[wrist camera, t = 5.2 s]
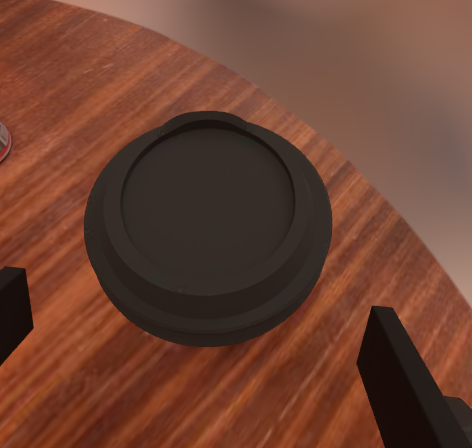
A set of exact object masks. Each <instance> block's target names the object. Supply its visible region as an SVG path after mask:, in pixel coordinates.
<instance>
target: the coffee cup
mask: <svg viewBox="0 0 472 448" xmlns="http://www.w3.org/2000/svg"><path fill="white" fill-rule="evenodd" d="M331 236H332V211H331V205H330V200H329V197H328V193H327V190H326V188H325V185H324V183H323V181H322V179H321V177H320V175H319V174H318V172H317V171H316V169H315V168H314V166H313V165H312V164H311V162H310V161H309V160H308V159H307V158H306V156H305V155H304V154H303V153H302V152H301V151H300V150H298V149H297V148H296V147H295V146H294V145H293V144H291V143H290V142H289V141H287V140H286V139H284V138H283V137H281V136H279V135H278V134H276V133H274V132H272V131H270V130H268V129H266V128H263V127H261V126H258V125H255V124H252V123H249V122H246V121H245V120H243V119H241V118H240V117H238V116H235V115H233V114H230V113H226V112H218V111H197V112H189V113H184V114H181V115H179V116H176V117H174V118H172V119H171V120H169V121H168V122H166V123H165V124H164V125H162V126H160V127H158V128H155V129H153V130H151V131H149V132H147V133H145V134H143V135H141V136H140V137H138V138H136V139H135V140H133V141H132V142H130V143H129V144H128V145H126V146H125V147H124V148H123V149H121V150H120V151H119V152H118V153H117V154H116V155H115V156H114V157H113V158H112V159H111V160H110V161H109V163H108V164H107V165H106V166H105V168H104V169H103V170H102V172H101V173H100V175H99V177H98V178H97V180H96V182H95V184H94V186H93V188H92V190H91V193H90V196H89V199H88V202H87V206H86V211H85V217H84V238H85V245H86V250H87V253H88V257H89V260H90V262H91V265H92V267H93V269H94V271H95V273H96V275H97V278H98V280H99V282H100V284H101V286H102V288H103V290H104V292H105V293H106V295H107V296H108V298H109V299H110V301H111V302H112V303H113V304H114V306H115V307H116V308H117V309H118V310H119V311H120V312H121V313H122V314H123V315H124V316H125V317H126V318H127V319H129V320H130V321H131V322H132V323H134V324H135V325H136V326H138V327H139V328H141V329H143V330H144V331H146V332H148V333H150V334H152V335H154V336H156V337H159V338H161V339H164V340H167V341H170V342H173V343H177V344H182V345H187V346H196V347H217V346H226V345H232V344H236V343H240V342H244V341H247V340H250V339H253V338H255V337H257V336H260V335H262V334H264V333H266V332H268V331H270V330H271V329H273V328H275V327H276V326H278V325H279V324H281V323H282V322H283V321H285V320H286V319H287V318H288V317H290V316H291V315H292V314H293V313H294V312H295V311H296V310H297V309H298V308H299V307H300V306H301V304H302V303H303V302H304V301H305V300H306V298H307V297H308V296H309V294H310V293H311V291H312V289H313V288H314V286H315V284H316V282H317V280H318V278H319V276H320V274H321V271H322V268H323V266H324V262H325V259H326V256H327V253H328V250H329V246H330V242H331Z"/></svg>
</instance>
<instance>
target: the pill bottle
mask: <svg viewBox="0 0 472 448" xmlns="http://www.w3.org/2000/svg"><path fill="white" fill-rule="evenodd" d="M10 147H11V136H10V133H9V131H8V130H7V128H6V127H5V126H4V125H3V124H2V123H1V121H0V161H2V160H3V159H4V158H5V156H6V155H7V154H8V152H9V150H10Z"/></svg>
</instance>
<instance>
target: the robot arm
mask: <svg viewBox="0 0 472 448" xmlns="http://www.w3.org/2000/svg"><path fill="white" fill-rule="evenodd" d="M33 328H34V326H33V319H32V312H31V305H30V298H29V291H28V284H27V277H26V270H25V268H16V267H6V266H5V267H4V268H3V269H1V270H0V366H1V365H2V363H3V362H4V361H5V360H6V359H7V358H8V357H9V356H10V354H11V353H12V352H13V351H14V350H15V349H16V348H17V346H18V345H19V344H20V343H21V342H22V341H23V340H24V338H25V337H26V336H27V335H28V334H29V333H30V332H31V330H32V329H33ZM357 366H358V369H359V372H360V375H361V378H362V381H363V384H364V387H365V390H366V393H367V396H368V399H369V402H370V405H371V408H372V411H373V413H374V416H375V419H376V422H377V425H378V428H379V431H380V434H381V437H382V440H383V443H384V446H385V448H472V409H471V408H470V407H469V406H468V405H467V404H466V403H465V402H464V401H462V400H461V399H460V398H455V397H446V396H443V395H442V393H441V391H440V389H439V388H438V386H437V384H436V382H435V381H434V379H433V377H432V375H431V374H430V372H429V370H428V368H427V367H426V365H425V363H424V361H423V360H422V358H421V356H420V355H419V353H418V351H417V349H416V348H415V346H414V344H413V342H412V341H411V339H410V337H409V335H408V334H407V332H406V330H405V328H404V327H403V325H402V323H401V321H400V320H399V318H398V316H397V315H396V313H395V311H394V309H393V308H391V307H381V306H372V307H371V311H370V315H369V319H368V322H367V326H366V330H365V333H364V337H363V341H362V344H361V348H360V352H359V356H358V359H357Z"/></svg>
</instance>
